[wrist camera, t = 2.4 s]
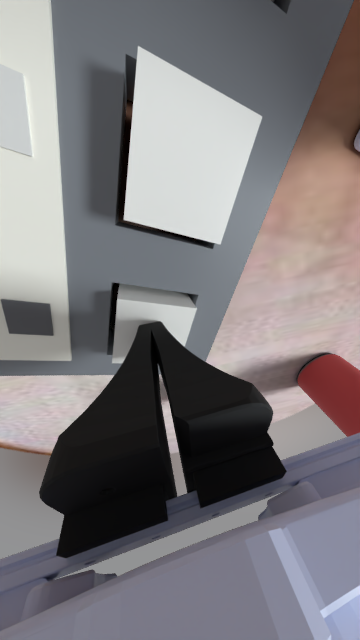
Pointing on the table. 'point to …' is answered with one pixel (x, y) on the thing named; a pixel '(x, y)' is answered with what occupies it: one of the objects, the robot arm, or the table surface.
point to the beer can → (334, 390)
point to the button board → (107, 156)
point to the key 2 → (149, 315)
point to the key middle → (184, 151)
